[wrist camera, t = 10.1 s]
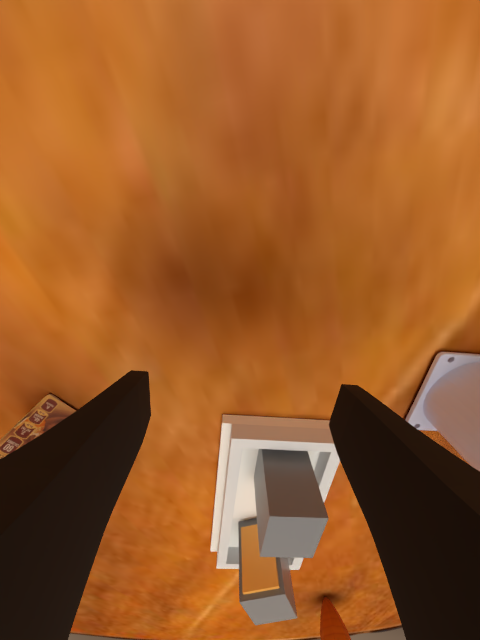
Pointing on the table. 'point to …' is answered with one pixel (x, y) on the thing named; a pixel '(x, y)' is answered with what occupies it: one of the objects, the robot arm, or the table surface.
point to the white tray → (239, 468)
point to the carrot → (332, 623)
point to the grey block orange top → (263, 580)
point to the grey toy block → (287, 504)
